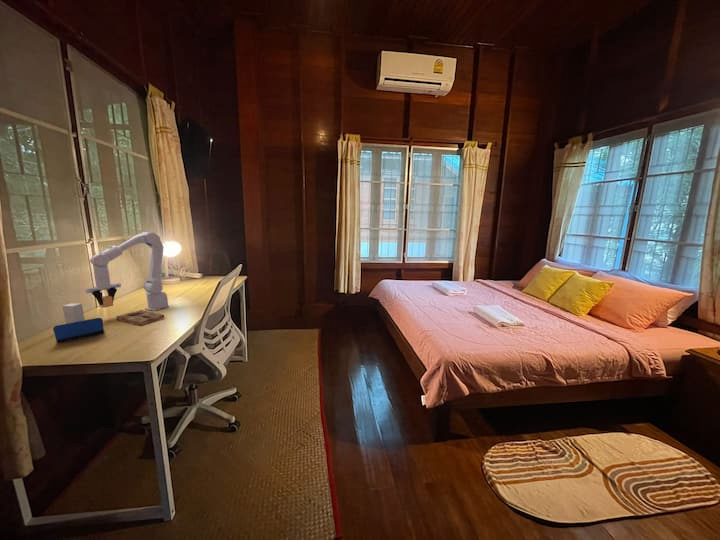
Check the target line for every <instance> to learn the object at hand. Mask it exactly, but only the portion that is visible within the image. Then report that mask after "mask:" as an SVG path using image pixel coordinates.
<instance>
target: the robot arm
mask: <svg viewBox="0 0 720 540" xmlns="http://www.w3.org/2000/svg"><path fill="white" fill-rule="evenodd" d="M138 244H145V245H147V246H148V247H149V248H151V254H150V255H151V258H150V265H149V272H148V277H147V278H146V281H145V283H144V285H143V290H144V291H145V292H146V301H147V307H145V308H144V310H147V309H148V311H151V310H154V311H157V309H158V310H161V308H162V309H165V308H168V307H170V305H169V301H168V300H169V299H168V294H167V293H166V292H165V291H163V289H164V287H163V285H162V279H161V269H162V262H163V255H164V254H163V253H164V245H163V243H162V241H161V237H160V236H159V235H158V233H155V232H152V231H151V232H150V231H142V232H141V233H138V234H136V235H134V236H132V237H131V238H130V239H128V240H126V241H124V242H122V243H121V244H120V245H109V246H107V247H108V248H106V249H105V250H103V251H99V252H98V253H97V254H94V255H92V256H91V258H90V260H89V262H90V263H91V265H92V268H93V276H94V281H95V286H93V287H89V288H84V289H85V290H84V291H85V293H86V294H91V295H93V296H94V298H95V299H96V301H97V303H98V305H99V306H100V305H103V301H102V297H103V291H106V293H107V296H112V300H113V301H114V300H115V296H116V293H117V291H118V289H117V288H121V287H122V285H121V284H122V283H120V282H118V283H111V278H110V271H109V267H108V265H109V262H111V261H113V260H115V259H117V258H118V257H120V256H122V255H123V252H124V251H126V250H128V249H129V248H133V247H134V246H135V245H138ZM101 291H102V292H101Z"/></svg>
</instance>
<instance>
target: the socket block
mask: <svg viewBox="0 0 720 540" xmlns="http://www.w3.org/2000/svg"><path fill="white" fill-rule="evenodd" d="M115 317H116V318H115V319H116V321H118V320H119V322H122V321H123V323H126V322H127V324H130V323H132V324H131V325H134V324H136V325H135V326H138V325H141V326H145V325H147V323H148V324H151V323H154V322H157V320H158V321H160V319H161V320H163V318H164V319H165V314H162V313H157V312H154V311H150V310H148V311H147V310H145V309H144V310H143V309H139V310H135V311H131V312H129V313H123V314H120V315H116V316H115ZM153 321H154V322H153ZM150 322H151V323H150ZM144 324H145V325H144Z"/></svg>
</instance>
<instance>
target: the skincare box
mask: <svg viewBox="0 0 720 540" xmlns="http://www.w3.org/2000/svg"><path fill="white" fill-rule="evenodd" d="M61 306H62V312H63V318H64V324H68V323H73V322H78V321H84V320H86V319H85V315H84V309H83V304H82V303H67V304H64V305H61Z"/></svg>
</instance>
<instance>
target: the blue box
mask: <svg viewBox="0 0 720 540" xmlns="http://www.w3.org/2000/svg"><path fill="white" fill-rule="evenodd" d="M52 330H53V334H54V337H55V340H56V343H57V344H62V343H66V342H67V343H68V342H72V341H75V340H76V341H77V340H80V339H85V337H86V338H90V336H91V337H96V336H100V335H99V334H101V335H104V334H105V330H104V324H103V318H102V317H96V318H90V319H85V320H84V321H78V322H73V323H68V324H66V323H64V324H63V323H62V324H58V325H54V327H53V328H52ZM95 335H96V336H95ZM79 338H80V339H79Z"/></svg>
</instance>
